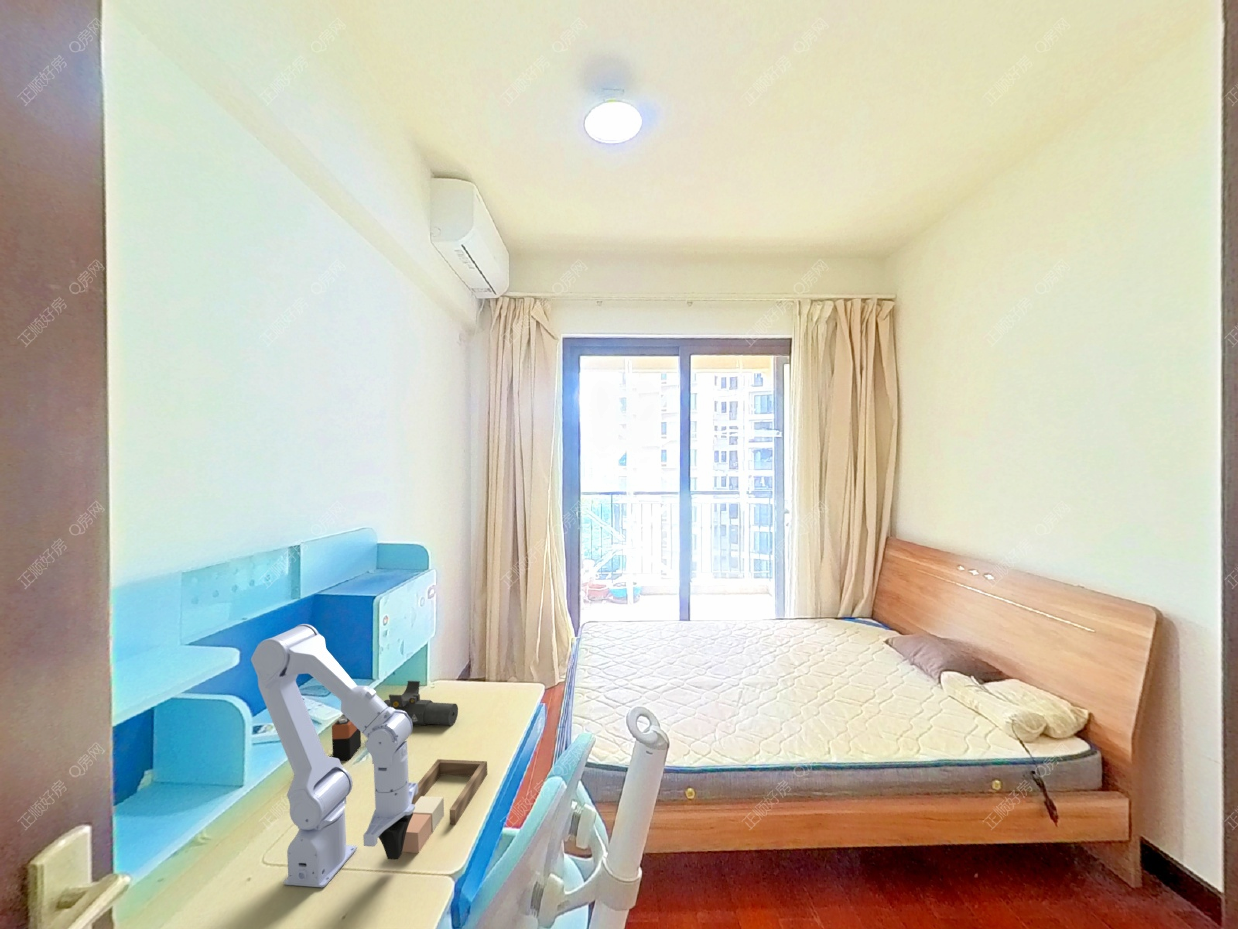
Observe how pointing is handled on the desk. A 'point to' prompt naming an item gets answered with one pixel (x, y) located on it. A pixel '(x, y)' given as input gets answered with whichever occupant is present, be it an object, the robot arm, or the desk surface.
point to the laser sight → (423, 707)
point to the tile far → (430, 809)
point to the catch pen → (457, 769)
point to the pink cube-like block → (417, 833)
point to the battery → (345, 738)
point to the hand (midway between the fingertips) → (394, 856)
